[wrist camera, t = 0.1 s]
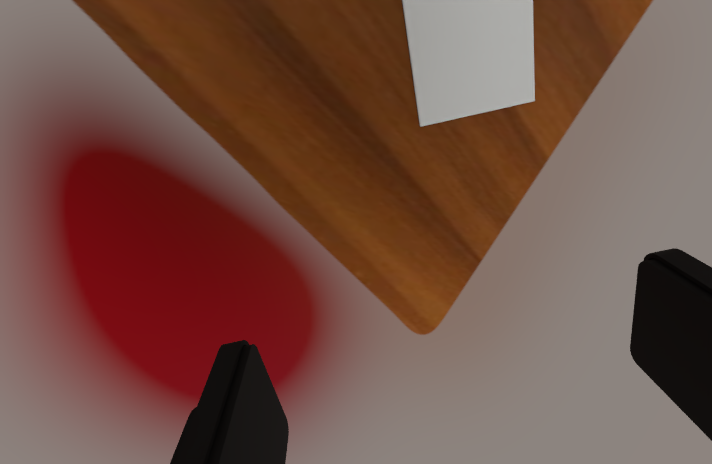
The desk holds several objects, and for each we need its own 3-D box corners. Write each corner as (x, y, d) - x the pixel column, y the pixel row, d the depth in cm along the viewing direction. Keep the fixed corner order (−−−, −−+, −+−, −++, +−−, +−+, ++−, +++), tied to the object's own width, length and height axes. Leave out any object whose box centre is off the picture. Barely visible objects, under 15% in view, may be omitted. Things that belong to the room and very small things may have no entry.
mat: (399, -17, 33) (400, -18, 33) (529, -48, 33) (531, -49, 32) (419, 126, 38) (420, 126, 38) (532, 100, 38) (534, 100, 37)
